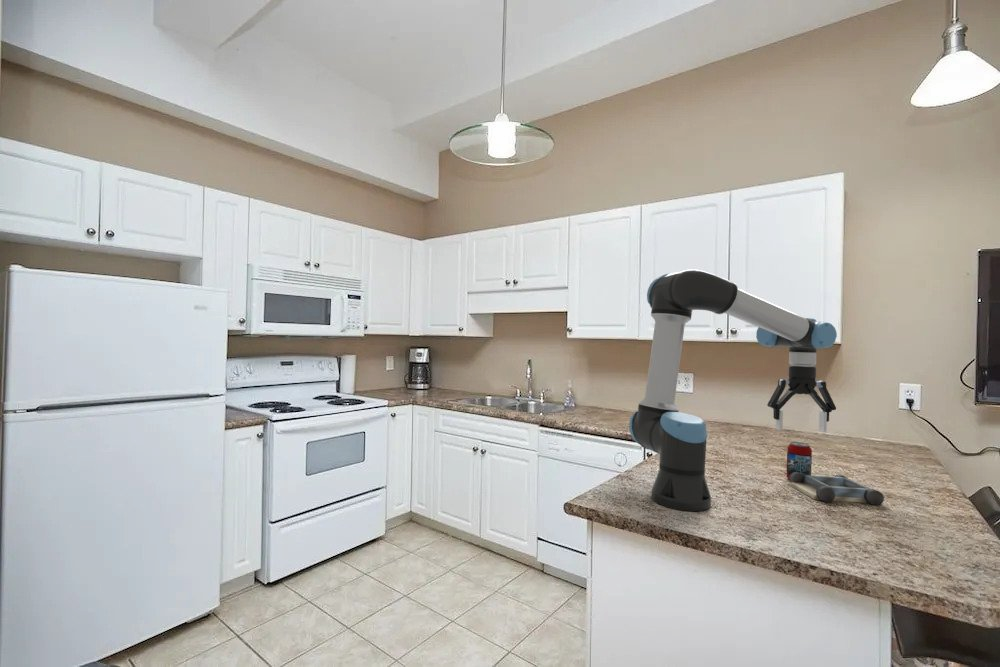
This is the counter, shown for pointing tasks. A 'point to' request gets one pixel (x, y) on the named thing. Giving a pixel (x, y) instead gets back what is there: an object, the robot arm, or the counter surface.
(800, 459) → the beverage can
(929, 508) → the counter surface
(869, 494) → the chassis
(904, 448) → the counter surface
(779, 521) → the counter surface
